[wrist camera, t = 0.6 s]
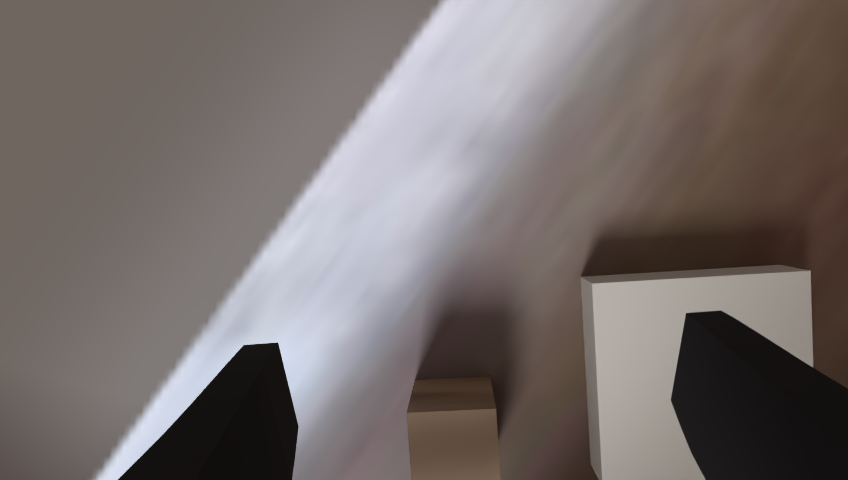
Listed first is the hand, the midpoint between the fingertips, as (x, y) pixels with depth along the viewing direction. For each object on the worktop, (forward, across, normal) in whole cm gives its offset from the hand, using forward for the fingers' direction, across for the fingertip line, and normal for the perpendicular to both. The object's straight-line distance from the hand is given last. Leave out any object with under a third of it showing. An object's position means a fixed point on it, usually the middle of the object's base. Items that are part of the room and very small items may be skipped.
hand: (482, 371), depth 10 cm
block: (+15, 0, +16) cm, 22 cm away
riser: (+15, -12, +14) cm, 24 cm away
